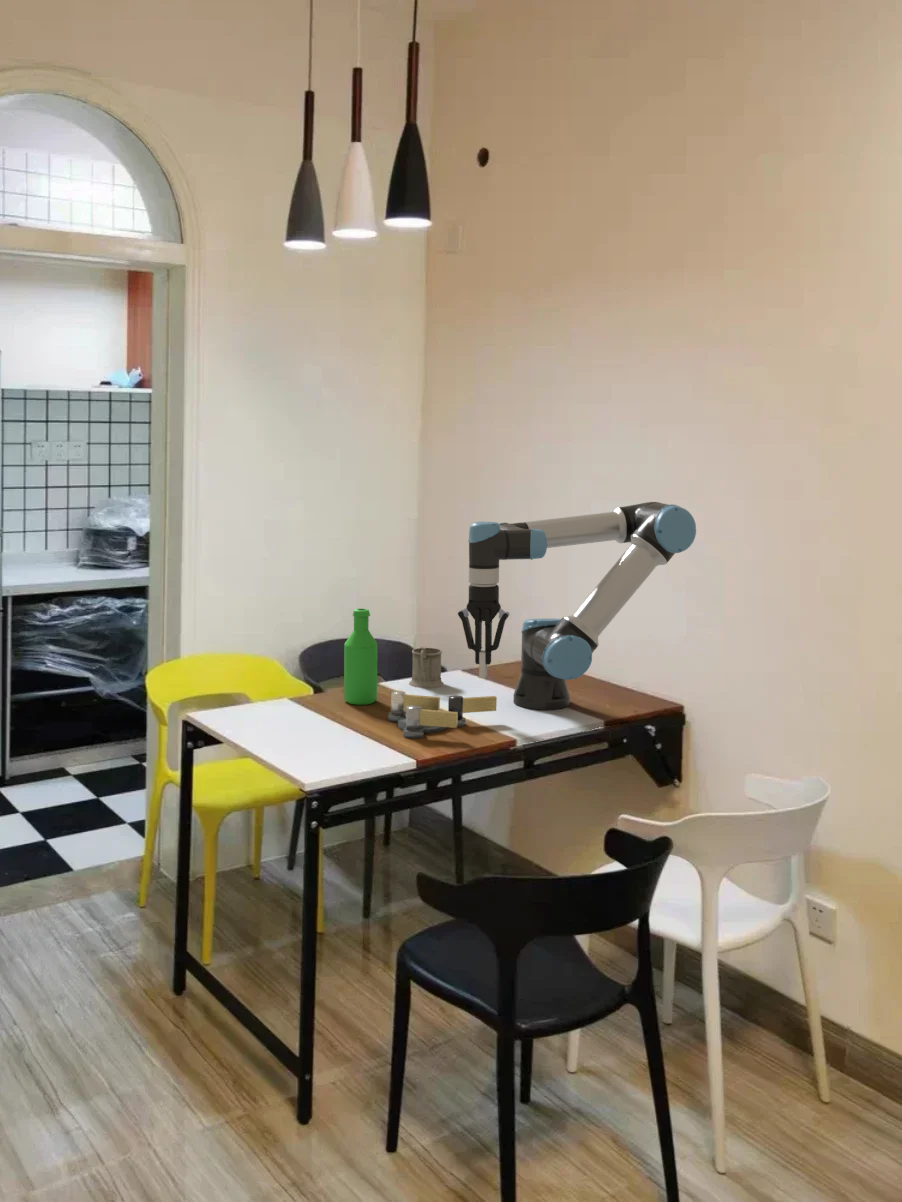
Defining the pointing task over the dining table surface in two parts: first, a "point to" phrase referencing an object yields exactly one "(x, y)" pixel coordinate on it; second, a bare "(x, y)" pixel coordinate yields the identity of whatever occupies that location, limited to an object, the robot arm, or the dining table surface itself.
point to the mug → (426, 668)
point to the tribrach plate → (424, 728)
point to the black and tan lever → (471, 704)
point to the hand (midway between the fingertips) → (483, 676)
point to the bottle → (360, 662)
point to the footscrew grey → (429, 718)
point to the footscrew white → (412, 702)
